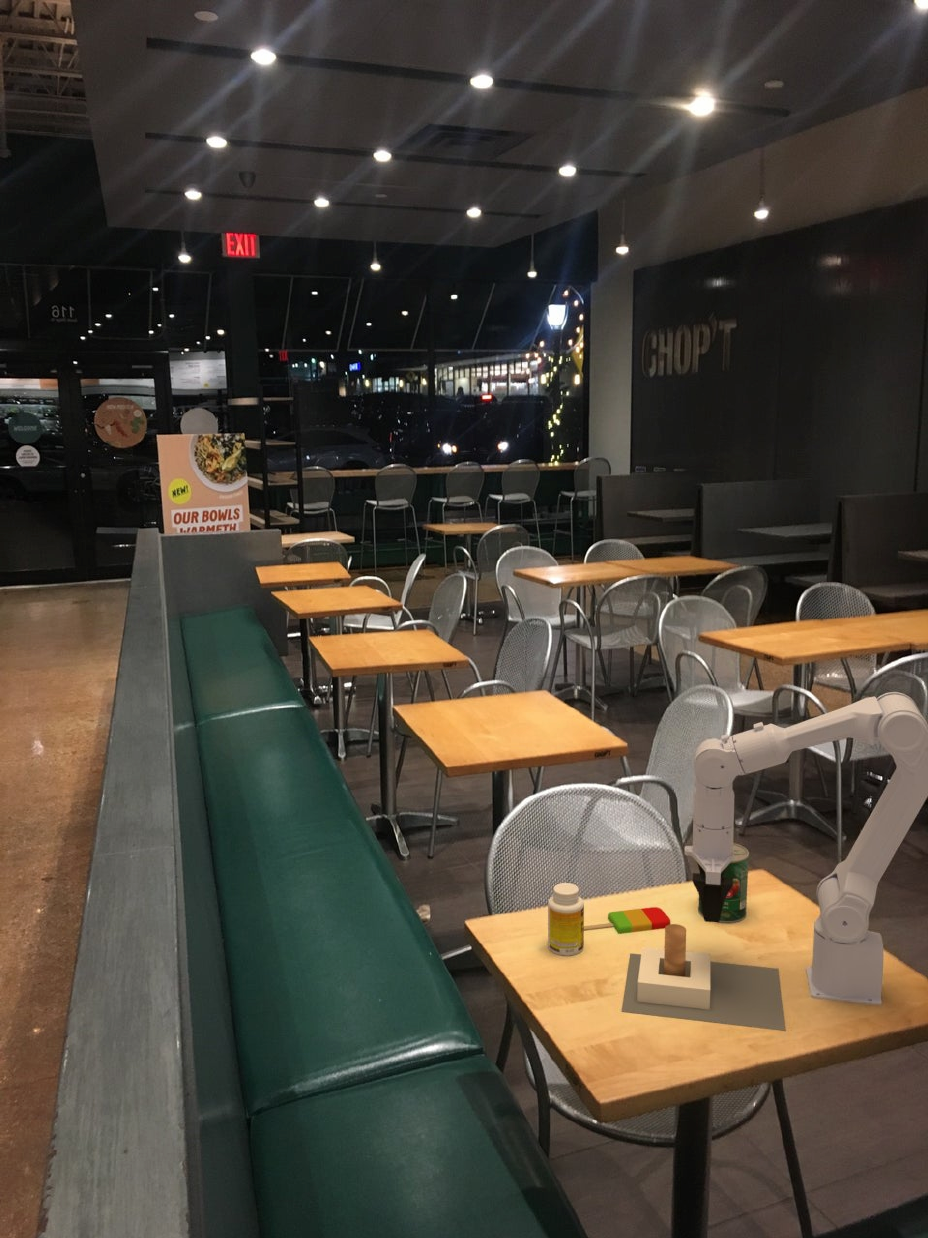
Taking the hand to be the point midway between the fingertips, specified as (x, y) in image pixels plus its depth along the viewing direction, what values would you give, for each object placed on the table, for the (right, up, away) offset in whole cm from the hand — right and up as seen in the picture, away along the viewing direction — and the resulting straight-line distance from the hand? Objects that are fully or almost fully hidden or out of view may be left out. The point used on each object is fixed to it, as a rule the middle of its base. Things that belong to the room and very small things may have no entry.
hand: (711, 908), depth 149 cm
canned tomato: (+7, -7, +20) cm, 22 cm away
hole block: (-6, -11, -2) cm, 12 cm away
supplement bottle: (-21, -9, +10) cm, 24 cm away
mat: (-2, -11, -3) cm, 12 cm away
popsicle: (-10, -8, +16) cm, 21 cm away
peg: (-6, -11, -2) cm, 12 cm away
